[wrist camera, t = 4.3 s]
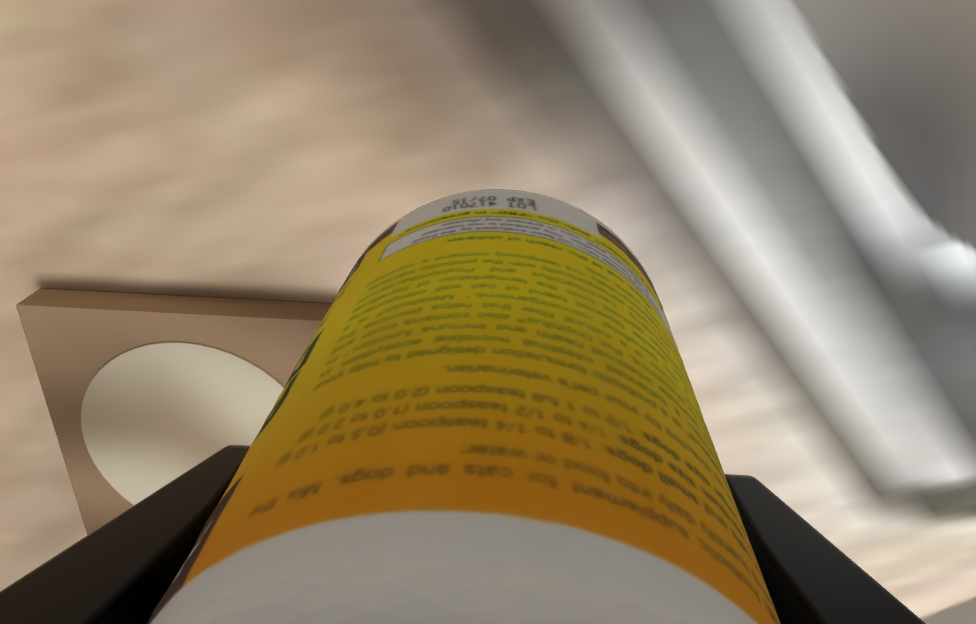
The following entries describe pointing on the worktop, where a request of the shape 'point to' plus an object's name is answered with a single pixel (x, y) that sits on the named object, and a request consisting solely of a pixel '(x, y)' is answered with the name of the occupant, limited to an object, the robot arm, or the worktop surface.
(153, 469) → the walnut board
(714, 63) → the worktop surface
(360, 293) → the supplement bottle
